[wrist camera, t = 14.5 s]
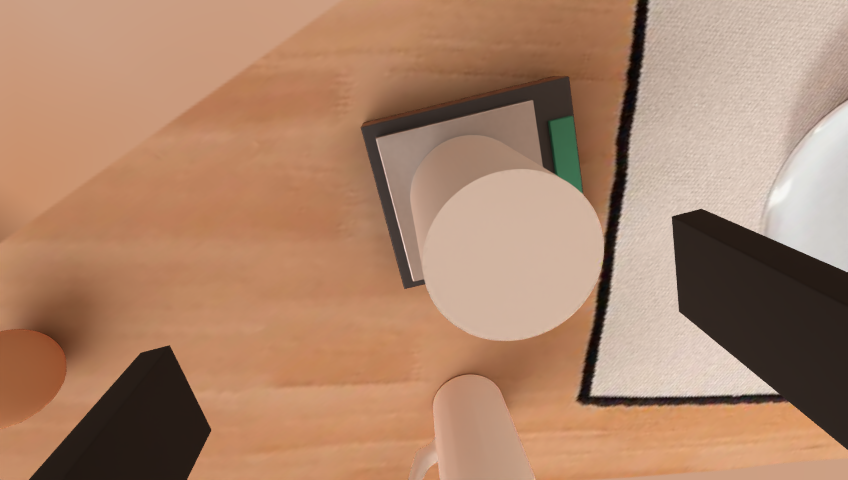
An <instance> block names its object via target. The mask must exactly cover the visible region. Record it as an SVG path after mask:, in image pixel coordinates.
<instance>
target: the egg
mask: <svg viewBox="0 0 848 480" xmlns="http://www.w3.org/2000/svg"><path fill="white" fill-rule="evenodd" d="M65 375H66V357H65V354H64V352H63V350H62V348H61V347H60V346H59V344H58V343H57V342H55V341H54V340H53V339H52V338H50V337H49V336H47V335H45V334H42V333H40V332H37V331H32V330H25V329H14V330H6V331H1V332H0V429H3V428H6V427H9V426H12V425H15V424H18V423H21V422H23V421H24V420H26V419H28V418H29V417H31V416H33V415H34V414H36V413H37V412H39V411H40V410H42V409H43V408H44V407H45V406H46V405H47V404H48V403H49V402H50V401H51V400H52V399H53V398H54V397H55V396H56V394H57V393H58V391H59V389H60V388H61V386H62V384H63V382H64V379H65Z"/></svg>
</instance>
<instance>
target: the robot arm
mask: <svg viewBox="0 0 848 480" xmlns="http://www.w3.org/2000/svg"><path fill="white" fill-rule="evenodd" d="M672 225H673V238H674V251H675V264H676V277H677V290H678V303H679V312H681V313H682V314H683V315H684V316H685V317H687V318H688V319H689V320H690V321H692V322H693V323H694V324H695V325H696V326H698V327H699V328H700V329H701V330H702V331H704V332H705V333H706V334H707V335H709V336H710V337H711V338H712V339H713V340H715V341H716V342H717V343H718V344H719V345H721V346H722V347H723V348H724V349H726V350H727V351H728V352H729V353H730V354H732V355H733V356H734V357H735V358H737V359H738V360H739V361H740V362H741V363H743V364H744V365H745V366H746V367H747V368H749V369H750V370H751V371H752V372H754V373H755V374H756V375H757V376H758V377H760V378H761V379H762V380H763V381H765V382H766V383H767V384H768V385H769V386H771V387H772V388H773V389H774V390H775V391H777V392H778V393H779V394H780V395H782V396H783V397H784V398H785V399H786V400H788V401H789V402H790V403H791V404H793V405H794V406H795V407H796V408H797V409H799V410H800V411H801V412H802V413H803V414H805V415H806V416H807V417H808V418H810V419H811V420H812V421H813V422H814V423H816V424H817V425H818V426H819V427H821V428H822V429H823V430H824V431H825V432H827V433H828V434H829V435H830V436H831V437H833V438H834V439H835V440H836V441H838V442H839V443H840V444H841V445H842V446H844V447H845V448H846V449H847V450H848V272H845V271H843V270H841V269H839V268H836V267H834V266H832V265H829V264H827V263H825V262H822V261H820V260H818V259H816V258H813V257H811V256H809V255H806V254H804V253H802V252H800V251H797V250H795V249H793V248H790V247H788V246H786V245H783V244H781V243H779V242H777V241H774V240H772V239H770V238H767V237H765V236H763V235H760V234H758V233H756V232H754V231H751V230H749V229H747V228H744V227H742V226H740V225H738V224H735V223H733V222H731V221H728V220H726V219H724V218H721V217H719V216H717V215H715V214H712V213H710V212H708V211H705V210H703V209H699V210H695V211H691V212H688V213H684V214H680V215H676V216H672ZM210 432H211V428H210V426H209V424H208V422H207V420H206V418H205V416H204V414H203V412H202V410H201V408H200V406H199V404H198V402H197V400H196V398H195V396H194V394H193V392H192V390H191V388H190V386H189V384H188V381H187V379H186V377H185V375H184V373H183V371H182V369H181V367H180V365H179V363H178V361H177V359H176V357H175V355H174V353H173V351H172V349H171V347H170V345H169V346H165V347H161V348H158V349H154V350H150V351H146V352H142V353H140V354H139V356H138V357H137V358H136V359H135V360H134V361H133V362H132V363H131V365H130V366H129V367H128V368H127V369H126V370H125V371H124V373H123V374H122V375H121V376H120V377H119V378H118V379H117V380H116V382H115V383H114V384H113V385H112V386H111V387H110V388H109V390H108V391H107V392H106V393H105V394H104V395H103V396H102V397H101V399H100V400H99V401H98V402H97V403H96V404H95V405H94V407H93V408H92V409H91V410H90V411H89V412H88V413H87V414H86V416H85V417H84V418H83V419H82V420H81V421H80V422H79V424H78V425H77V426H76V427H75V428H74V429H73V430H72V431H71V433H70V434H69V435H68V436H67V437H66V438H65V439H64V441H63V442H62V443H61V444H60V445H59V446H58V447H57V449H56V450H55V451H54V452H53V453H52V454H51V455H50V456H49V458H48V459H47V460H46V461H45V462H44V463H43V464H42V466H41V467H40V468H39V469H38V470H37V471H36V472H35V473H34V475H33V476H32V477H31V478H30V479H29V480H187V478H188V476H189V474H190V472H191V470H192V468H193V466H194V464H195V462H196V460H197V458H198V456H199V454H200V452H201V450H202V448H203V446H204V444H205V442H206V440H207V438H208V436H209V434H210Z"/></svg>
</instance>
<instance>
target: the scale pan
mask: <svg viewBox="0 0 848 480" xmlns="http://www.w3.org/2000/svg"><path fill="white" fill-rule="evenodd" d="M464 135H481V136H487V137H490V138H493V139H496V140H498V141H500V142H502V143H503V144H505V145H507V146H508V147H510V148H512V149H513V150H515V151H517V152H518V153H520V154H522V155H523V156H525V157H527V158H528V159H530V160H532V161H533V162H535V163H537V164H538V165H540V166H542V167H543V164H542V157H541V151H540V144H539V137H538V130H537V124H536V117H535V110H534V104H533V100H530V99H528V100H524V101H520V102H516V103H512V104H508V105H504V106H500V107H496V108H491V109H487V110H483V111H479V112H475V113H471V114H467V115H463V116H459V117H455V118H451V119H446V120H442V121H438V122H434V123H430V124H426V125H422V126H418V127H414V128H410V129H406V130H401V131H397V132H393V133H389V134H385V135H381V136H377V137H376V142H377V146H378V150H379V153H380V157H381V161H382V165H383V169H384V173H385V176H386V180H387V184H388V188H389V192H390V196H391V199H392V203H393V207H394V211H395V215H396V218H397V222H398V226H399V230H400V234H401V238H402V241H403V245H404V249H405V253H406V257H407V261H408V264H409V268H410V272H411V276H412V280H413V282H414V281H418V280H422V279H424V276H423V270H422V264H421V259H420V253H419V248H418V242H417V236H416V231H415V225H414V220H413V214H412V208H411V202H410V191H411V185H412V181H413V177H414V175H415V172H416V170H417V168H418V166H419V165H420V163H421V162H422V160H423V159H424V158H425V157H426V156H427V154H428V153H429V152H431V151H432V150H433V149H434V148H435V147H437V146H438V145H440V144H441V143H443V142H445V141H447V140H449V139H452V138H455V137H459V136H464Z"/></svg>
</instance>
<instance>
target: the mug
mask: <svg viewBox="0 0 848 480" xmlns="http://www.w3.org/2000/svg"><path fill="white" fill-rule="evenodd" d="M433 415H434V428H435V438H434V440H433V441H432V442H430V443H429V444H428V445H426V446H424V447H422V448H420V449H418V450H417V451H416V453H415V457H414V460H413V464H412V467H411V471H410V474H409V478H408V480H423V477H424V476H425V474H426V472H427V471H428V469H429V468H430V467H431V466H432V465H433V464H435V463H437V462H438V466H439V477H440V480H536V479H535V476H534V473H533V471H532V468H531V466H530V463H529V461H528V458H527V456H526V453H525V451H524V448H523V446H522V443H521V441H520V438H519V436H518V433H517V431H516V428H515V425H514V423H513V420H512V418H511V415H510V413H509V410H508V408H507V406H506V403H505V401H504V399H503V396H502V394H501V391H500V390H499V388H498V387H497V385H496V384H495V383H494V382H492V381H491V380H489V379H488V378H486V377H483V376H479V375H462V376H458V377H455V378H453V379H451V380H449V381H448V382H446V383H445V384H444V385H443V386H442V387H441V388H440V389H439V390H438V392H437V394H436V396H435V398H434V402H433Z"/></svg>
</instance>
